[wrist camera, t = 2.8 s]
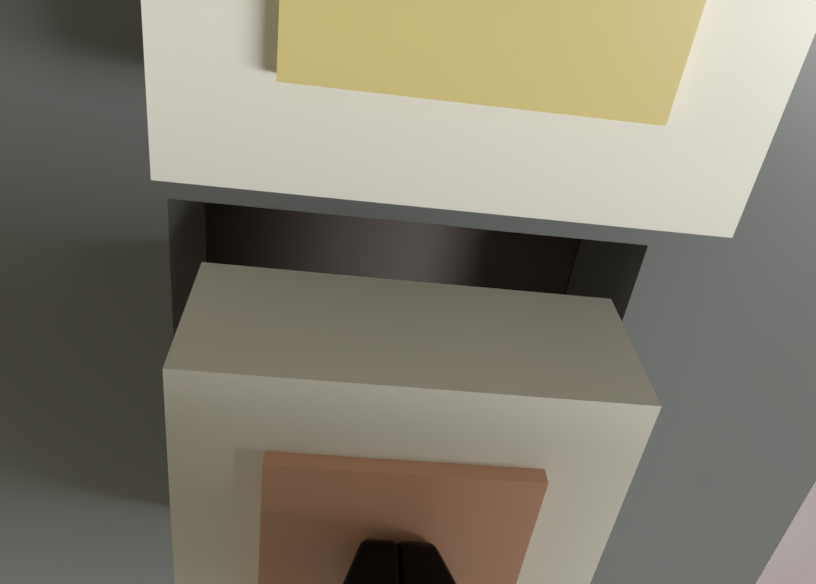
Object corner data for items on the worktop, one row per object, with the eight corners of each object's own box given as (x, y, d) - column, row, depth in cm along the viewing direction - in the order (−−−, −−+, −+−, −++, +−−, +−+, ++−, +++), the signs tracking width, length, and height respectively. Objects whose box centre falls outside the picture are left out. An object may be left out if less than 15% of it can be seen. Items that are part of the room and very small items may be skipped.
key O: (610, 298, 10) (668, 419, 8) (526, 559, 12) (553, 695, 10) (201, 262, 9) (158, 382, 7) (206, 542, 12) (175, 682, 10)
